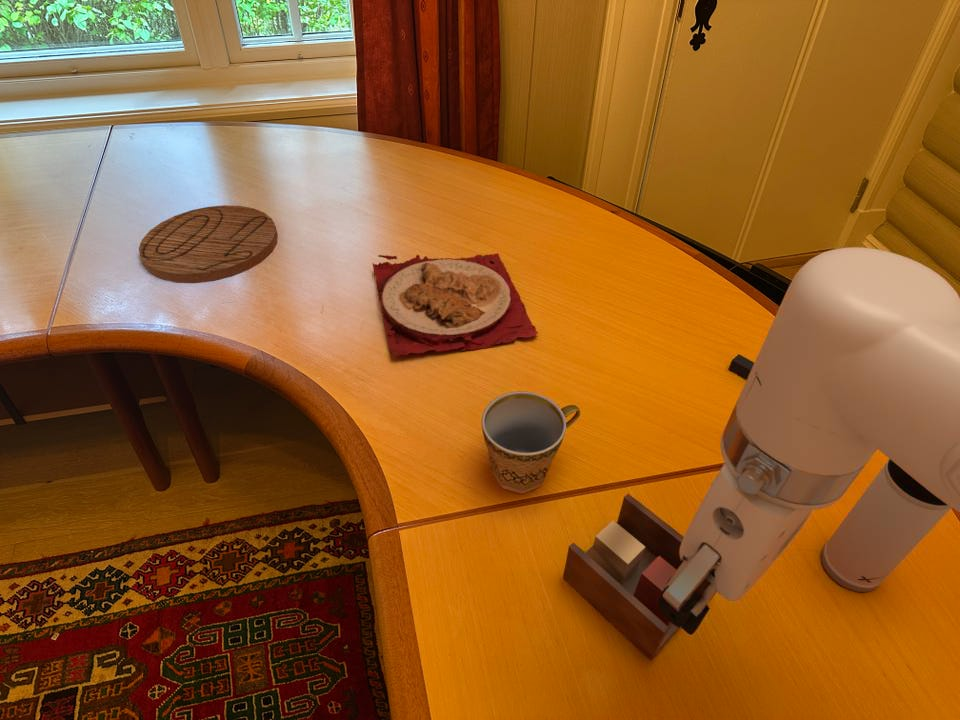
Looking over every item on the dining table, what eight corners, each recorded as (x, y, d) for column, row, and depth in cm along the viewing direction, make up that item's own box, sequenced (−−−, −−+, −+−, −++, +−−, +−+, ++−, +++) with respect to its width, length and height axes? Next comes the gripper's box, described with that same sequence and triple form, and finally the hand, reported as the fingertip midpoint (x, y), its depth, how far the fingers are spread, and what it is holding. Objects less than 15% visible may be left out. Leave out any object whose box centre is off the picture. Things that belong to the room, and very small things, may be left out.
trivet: (298, 219, 125) (296, 211, 124) (240, 290, 107) (238, 281, 106) (187, 208, 128) (184, 200, 127) (113, 274, 110) (109, 265, 109)
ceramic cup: (502, 517, 73) (505, 466, 66) (468, 457, 80) (467, 406, 73) (593, 479, 77) (604, 428, 70) (553, 426, 84) (560, 374, 77)
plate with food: (391, 364, 93) (389, 348, 91) (373, 269, 111) (371, 253, 109) (538, 342, 98) (540, 326, 95) (498, 254, 116) (499, 238, 113)
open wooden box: (706, 597, 66) (722, 567, 61) (650, 661, 61) (664, 633, 56) (618, 525, 72) (628, 493, 68) (562, 577, 67) (568, 546, 63)
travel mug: (868, 607, 65) (971, 499, 52) (809, 564, 69) (891, 453, 55) (893, 571, 68) (996, 461, 55) (835, 532, 72) (919, 419, 58)
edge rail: (866, 438, 83) (873, 428, 81) (860, 445, 82) (866, 436, 80) (735, 363, 93) (738, 353, 92) (728, 369, 92) (731, 359, 91)
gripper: (773, 575, 30) (687, 693, 42) (914, 410, 39) (810, 547, 51) (652, 480, 35) (605, 612, 46) (803, 350, 43) (731, 489, 55)
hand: (712, 578), depth 48 cm, fingers open, 9 cm apart
